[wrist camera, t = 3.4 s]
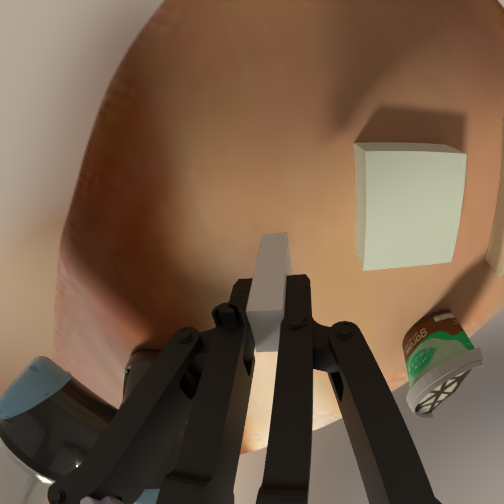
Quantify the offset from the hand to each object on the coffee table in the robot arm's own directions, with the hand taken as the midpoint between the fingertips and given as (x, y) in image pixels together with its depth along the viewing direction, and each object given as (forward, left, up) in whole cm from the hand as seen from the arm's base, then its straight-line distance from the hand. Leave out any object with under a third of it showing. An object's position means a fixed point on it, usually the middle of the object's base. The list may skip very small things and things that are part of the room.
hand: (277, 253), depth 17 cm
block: (+11, 0, -8) cm, 14 cm away
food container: (+16, -19, -8) cm, 26 cm away
